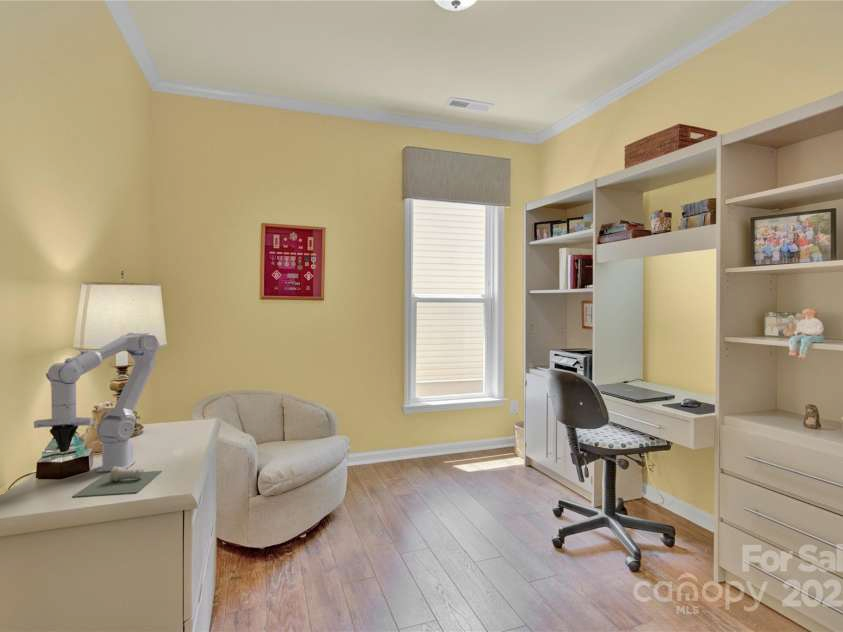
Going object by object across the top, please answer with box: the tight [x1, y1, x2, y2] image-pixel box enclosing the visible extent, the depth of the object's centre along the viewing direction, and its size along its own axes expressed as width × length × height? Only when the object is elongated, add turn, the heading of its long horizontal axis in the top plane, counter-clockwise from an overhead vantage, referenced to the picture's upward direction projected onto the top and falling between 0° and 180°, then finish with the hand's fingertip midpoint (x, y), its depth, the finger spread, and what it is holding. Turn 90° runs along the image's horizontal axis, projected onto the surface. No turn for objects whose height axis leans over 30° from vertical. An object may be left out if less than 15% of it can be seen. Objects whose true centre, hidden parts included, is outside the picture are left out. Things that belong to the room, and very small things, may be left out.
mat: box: [71, 470, 163, 498], centre depth 137 cm, size 18×16×1 cm
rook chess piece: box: [109, 466, 145, 482], centre depth 139 cm, size 4×4×8 cm
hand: (64, 451), depth 137 cm, fingers closed
